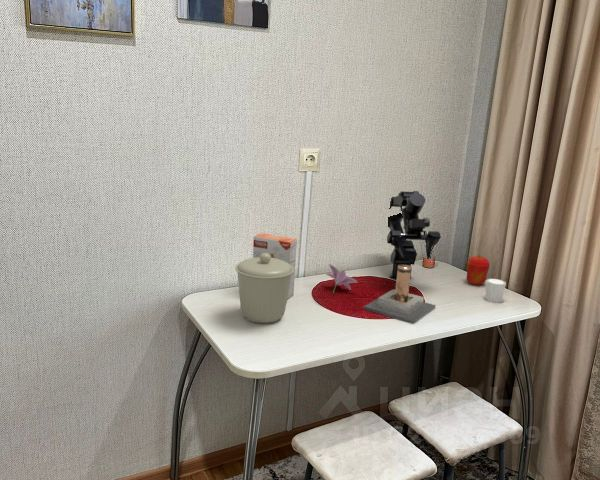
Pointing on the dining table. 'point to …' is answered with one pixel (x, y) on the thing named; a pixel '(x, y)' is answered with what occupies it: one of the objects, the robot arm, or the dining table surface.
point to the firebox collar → (400, 307)
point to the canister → (263, 287)
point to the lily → (340, 277)
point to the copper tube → (402, 283)
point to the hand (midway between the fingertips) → (416, 257)
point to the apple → (477, 270)
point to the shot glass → (494, 290)
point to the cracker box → (277, 251)
